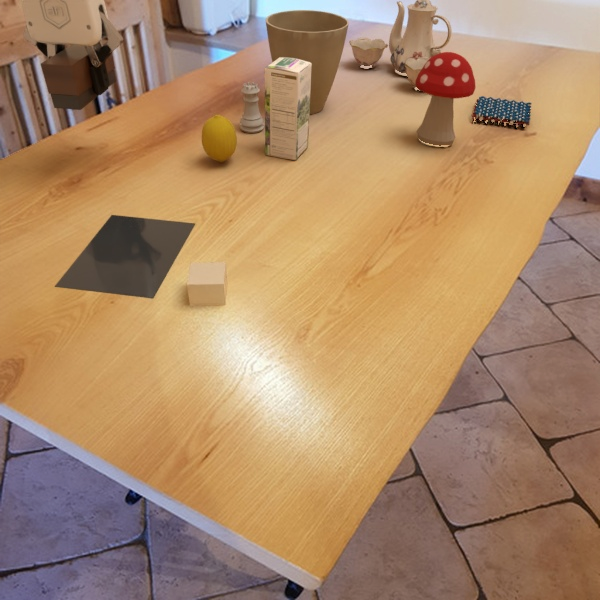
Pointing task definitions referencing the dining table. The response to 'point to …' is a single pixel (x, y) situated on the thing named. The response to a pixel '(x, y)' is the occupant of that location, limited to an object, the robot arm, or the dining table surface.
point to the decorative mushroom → (443, 95)
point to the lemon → (219, 138)
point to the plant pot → (310, 46)
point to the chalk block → (207, 283)
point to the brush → (73, 77)
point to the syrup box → (287, 107)
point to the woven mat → (502, 110)
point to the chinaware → (405, 41)
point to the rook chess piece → (251, 109)
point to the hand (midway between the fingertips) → (85, 89)
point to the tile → (128, 257)
